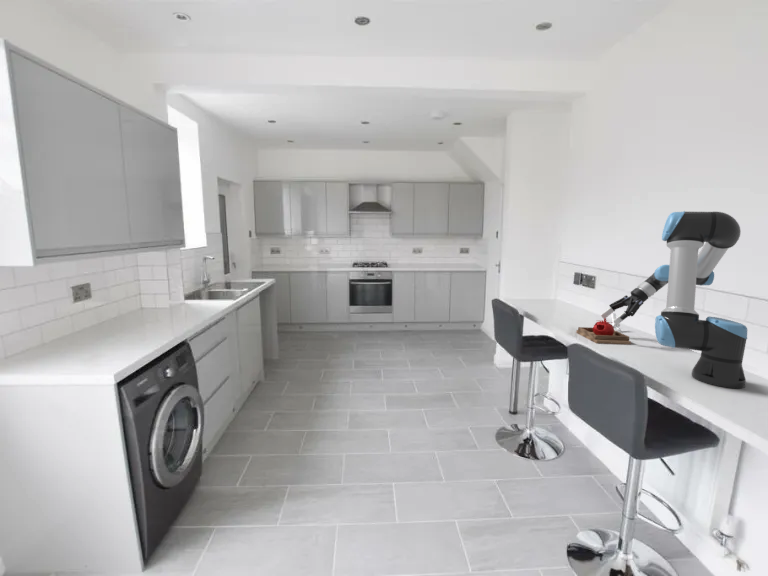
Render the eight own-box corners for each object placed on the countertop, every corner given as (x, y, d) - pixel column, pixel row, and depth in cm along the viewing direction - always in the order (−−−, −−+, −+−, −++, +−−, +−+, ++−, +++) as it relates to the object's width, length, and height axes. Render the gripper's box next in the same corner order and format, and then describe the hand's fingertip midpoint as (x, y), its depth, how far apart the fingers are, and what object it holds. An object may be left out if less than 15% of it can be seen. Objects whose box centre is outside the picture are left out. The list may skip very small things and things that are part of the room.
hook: (610, 318, 222) (620, 314, 216) (615, 337, 217) (625, 333, 211) (600, 316, 221) (610, 311, 215) (604, 335, 215) (614, 331, 209)
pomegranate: (606, 333, 202) (608, 316, 201) (617, 338, 192) (620, 320, 191) (587, 332, 202) (590, 315, 201) (598, 337, 192) (600, 319, 191)
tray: (630, 344, 187) (631, 337, 187) (596, 343, 187) (597, 336, 187) (607, 333, 207) (608, 327, 206) (576, 332, 207) (576, 326, 207)
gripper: (662, 302, 180) (625, 331, 184) (634, 294, 205) (602, 319, 208) (652, 290, 180) (615, 319, 183) (624, 284, 204) (592, 310, 208)
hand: (608, 320), depth 196 cm, fingers open, 13 cm apart
